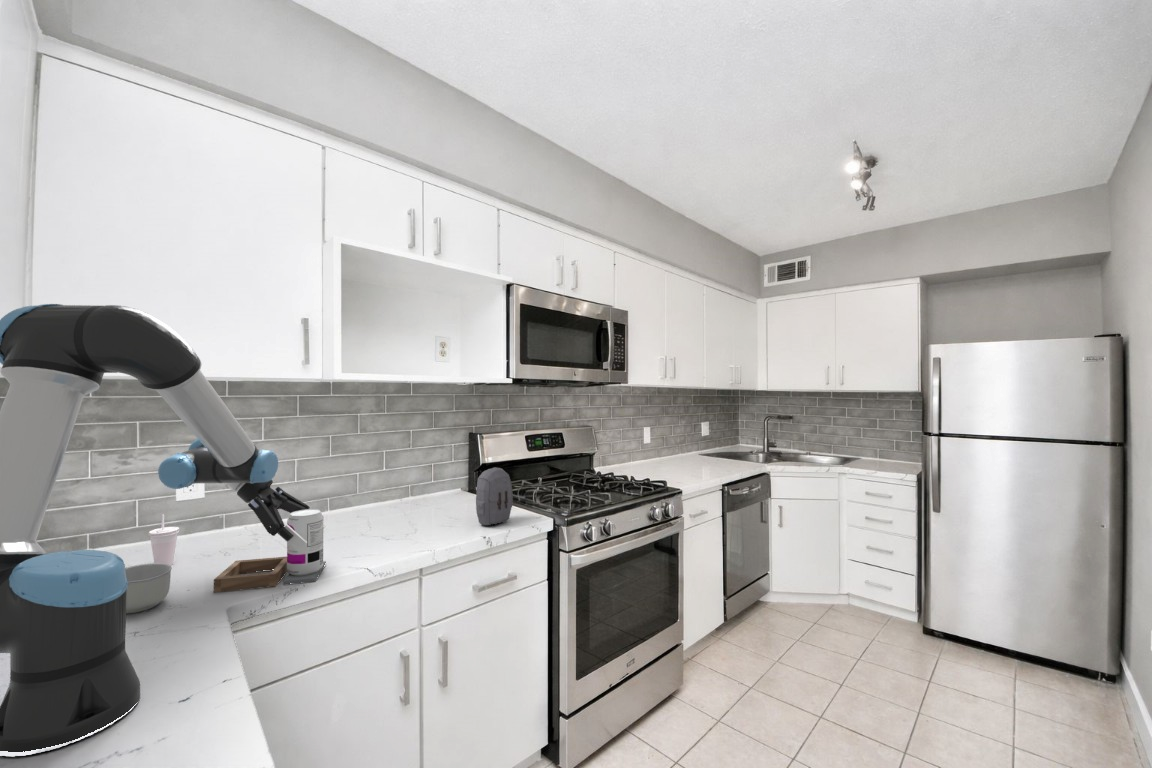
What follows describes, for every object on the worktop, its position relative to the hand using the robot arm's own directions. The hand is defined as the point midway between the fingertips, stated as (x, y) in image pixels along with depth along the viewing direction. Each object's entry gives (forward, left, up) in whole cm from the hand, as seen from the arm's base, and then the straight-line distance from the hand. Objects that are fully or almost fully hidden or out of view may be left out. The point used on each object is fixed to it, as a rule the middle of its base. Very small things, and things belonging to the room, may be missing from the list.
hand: (312, 538), depth 126 cm
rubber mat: (0, +2, -9) cm, 9 cm away
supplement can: (0, +2, -8) cm, 9 cm away
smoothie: (+17, +40, -9) cm, 45 cm away
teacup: (-12, +33, -9) cm, 36 cm away
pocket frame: (0, +13, -9) cm, 16 cm away
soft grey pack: (+34, -51, -9) cm, 62 cm away
